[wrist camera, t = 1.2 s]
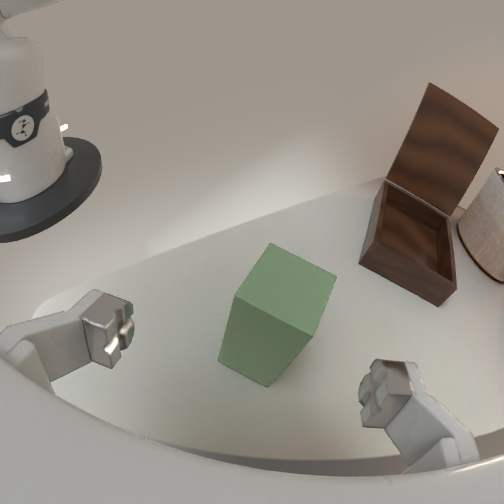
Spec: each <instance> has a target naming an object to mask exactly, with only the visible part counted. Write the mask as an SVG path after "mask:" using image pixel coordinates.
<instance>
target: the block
mask: <svg viewBox="0 0 504 504" xmlns="http://www.w3.org/2000/svg"><path fill="white" fill-rule="evenodd" d="M336 278H337V277H336V276H335V275H333V274H331V273H329V272H327V271H325V270H323V269H321V268H319V267H317V266H315V265H313V264H311V263H309V262H307V261H305V260H304V259H302V258H300V257H298V256H296V255H294V254H292V253H290V252H288V251H286V250H284V249H282V248H280V247H278V246H276V245H274V244H272V243H270V244H269V245H268V247H267V248H266V250H265V251H264V253H263V254H262V256H261V257H260V259H259V260H258V262H257V263H256V265H255V266H254V267H253V269H252V270H251V272H250V273H249V275H248V276H247V278H246V279H245V281H244V282H243V283H242V285H241V286H240V288H239V289H238V291H237V292H236V294H235V295H234V299H233V303H232V307H231V311H230V315H229V319H228V323H227V327H226V331H225V335H224V338H223V342H222V346H221V350H220V354H219V358H218V361H219V362H221V363H222V364H224V365H226V366H228V367H230V368H231V369H233V370H235V371H237V372H239V373H241V374H242V375H244V376H246V377H248V378H250V379H252V380H254V381H256V382H258V383H260V384H262V385H264V386H265V387H268V386H269V385H270V384H271V383H272V382H273V381H274V380H275V379H276V378H277V377H278V376H279V375H280V374H281V373H282V371H283V370H284V369H285V368H286V367H287V366H288V365H289V364H290V363H291V361H292V360H293V359H294V358H295V357H296V356H297V355H298V354H299V352H300V351H301V350H302V349H303V348H304V347H305V345H306V344H307V343H308V342H309V341H310V340H311V338H312V337H313V336H314V334H315V331H316V329H317V327H318V324H319V322H320V319H321V317H322V314H323V312H324V309H325V307H326V304H327V302H328V299H329V296H330V294H331V291H332V289H333V286H334V283H335V280H336Z"/></svg>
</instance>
